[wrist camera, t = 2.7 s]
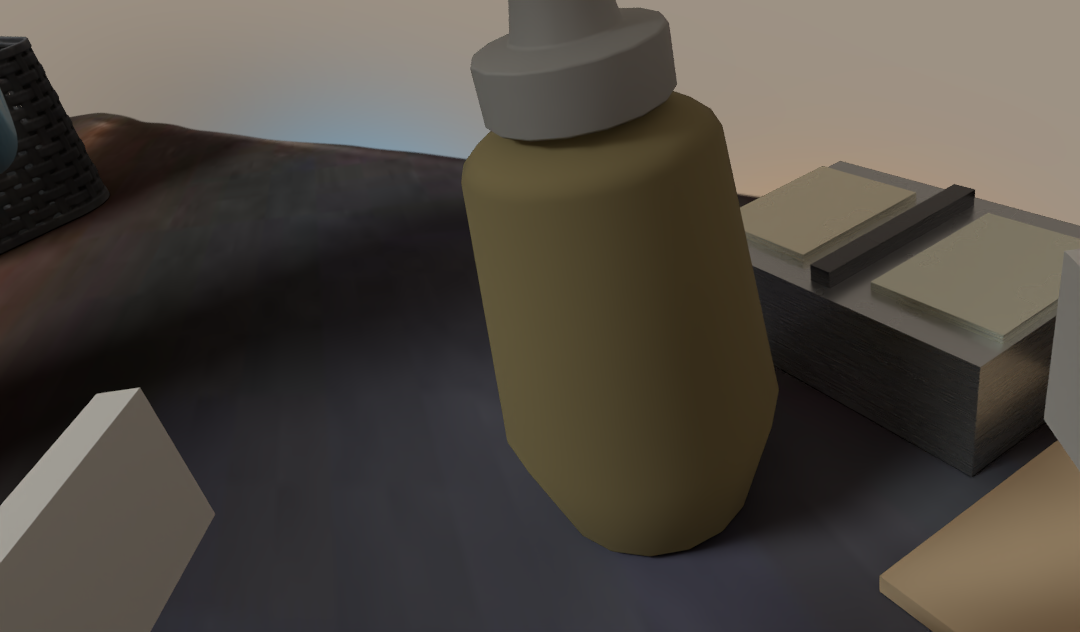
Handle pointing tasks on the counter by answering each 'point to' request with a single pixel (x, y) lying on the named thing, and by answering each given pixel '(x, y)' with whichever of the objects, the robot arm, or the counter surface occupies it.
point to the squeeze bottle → (616, 278)
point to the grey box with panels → (912, 304)
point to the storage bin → (41, 154)
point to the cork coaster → (1001, 558)
